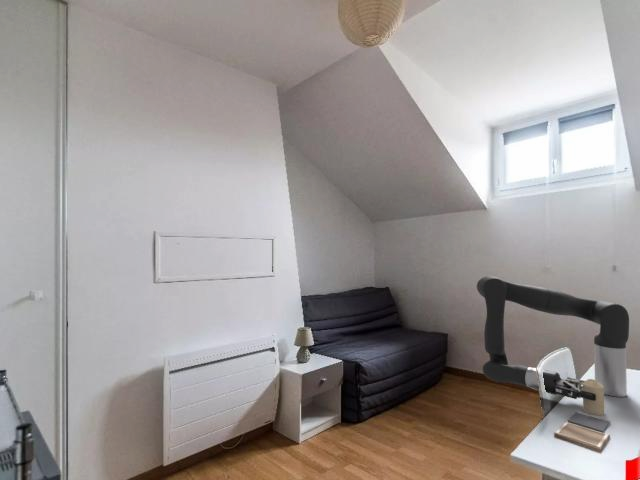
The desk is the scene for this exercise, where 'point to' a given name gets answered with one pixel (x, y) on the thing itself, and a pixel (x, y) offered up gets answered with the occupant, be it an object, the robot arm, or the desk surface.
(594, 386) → the candle
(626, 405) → the desk surface
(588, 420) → the pad
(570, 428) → the board
